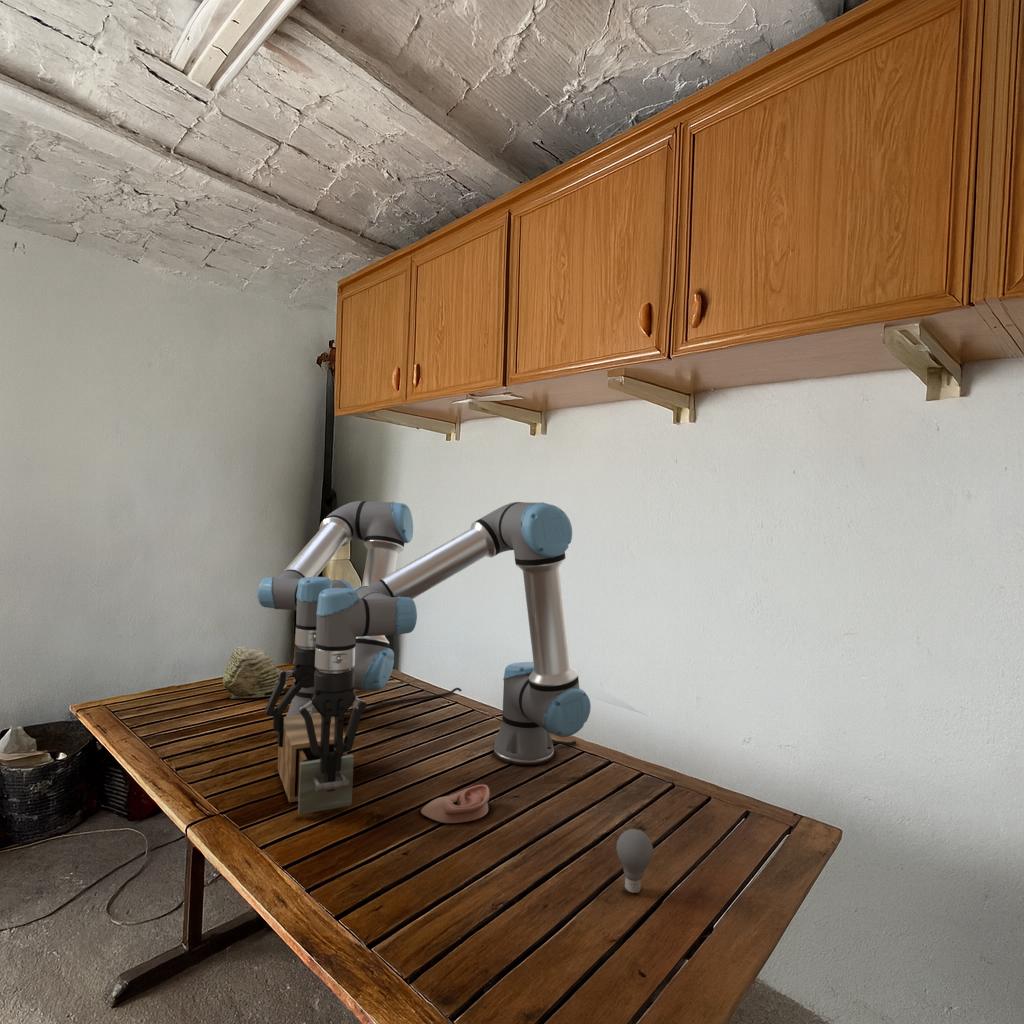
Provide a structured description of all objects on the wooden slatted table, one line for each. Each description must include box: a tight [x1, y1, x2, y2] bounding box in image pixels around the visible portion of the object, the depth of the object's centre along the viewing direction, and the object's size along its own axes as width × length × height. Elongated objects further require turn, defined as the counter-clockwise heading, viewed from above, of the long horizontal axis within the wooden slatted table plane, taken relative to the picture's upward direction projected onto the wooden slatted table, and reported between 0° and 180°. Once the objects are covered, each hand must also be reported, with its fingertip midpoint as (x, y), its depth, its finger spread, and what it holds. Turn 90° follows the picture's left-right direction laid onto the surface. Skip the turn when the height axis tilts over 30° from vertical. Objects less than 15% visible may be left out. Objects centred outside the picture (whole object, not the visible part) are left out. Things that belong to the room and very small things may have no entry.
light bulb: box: [615, 828, 654, 894], centre depth 106 cm, size 6×6×10 cm
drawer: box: [295, 744, 355, 816], centre depth 131 cm, size 21×10×10 cm, turn 28°
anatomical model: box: [420, 784, 491, 824], centre depth 130 cm, size 13×4×12 cm
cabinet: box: [277, 713, 348, 804], centre depth 141 cm, size 17×12×12 cm
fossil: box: [222, 646, 288, 699], centre depth 198 cm, size 9×18×15 cm, turn 132°
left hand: (308, 741), depth 144 cm, fingers closed on cabinet, 12 cm apart
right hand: (329, 787), depth 124 cm, fingers closed
